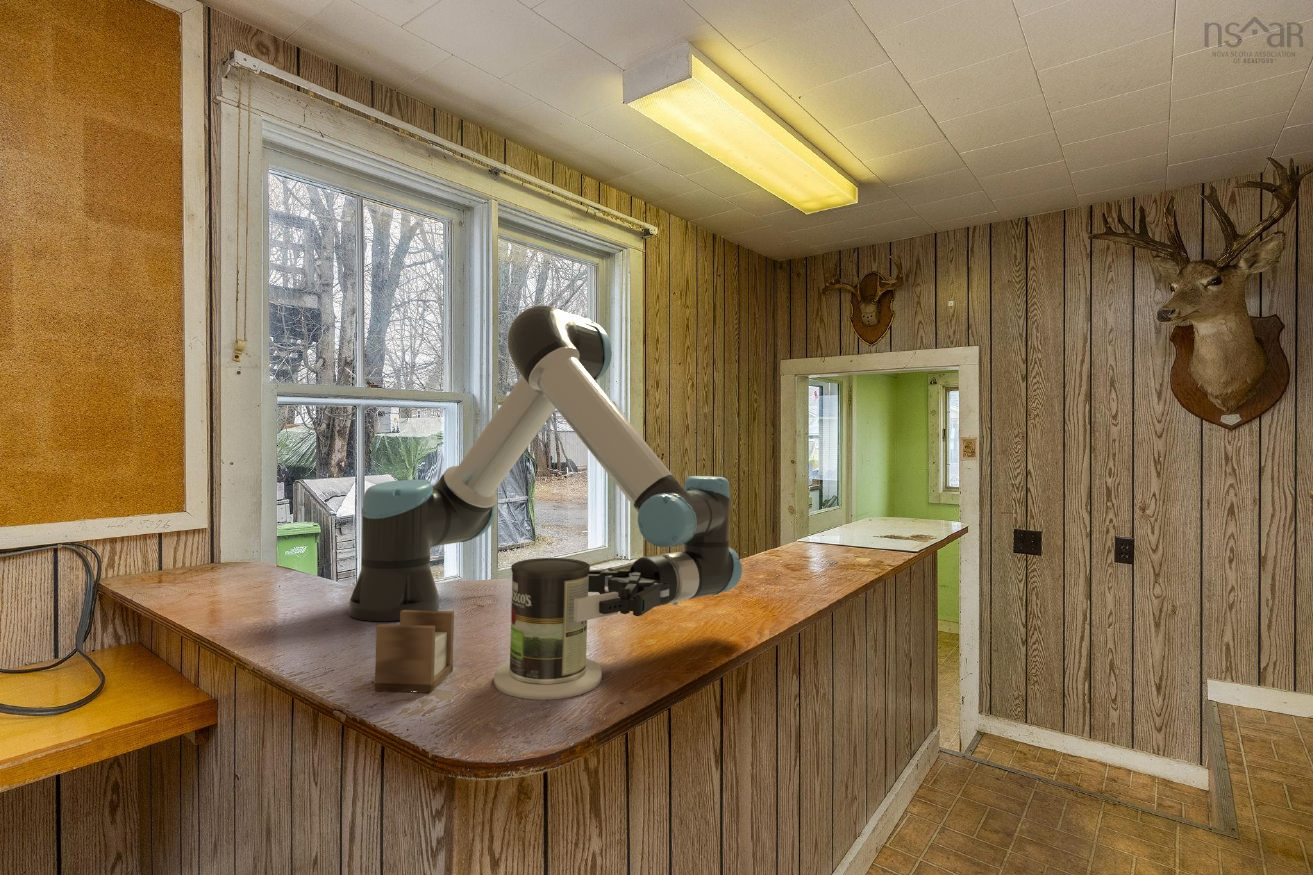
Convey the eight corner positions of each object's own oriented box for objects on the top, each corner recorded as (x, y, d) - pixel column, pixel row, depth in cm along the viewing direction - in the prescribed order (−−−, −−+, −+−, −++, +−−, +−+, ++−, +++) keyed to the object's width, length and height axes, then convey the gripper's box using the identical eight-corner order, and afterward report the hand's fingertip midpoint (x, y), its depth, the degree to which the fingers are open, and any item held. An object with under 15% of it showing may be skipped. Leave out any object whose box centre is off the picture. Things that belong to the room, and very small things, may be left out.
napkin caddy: (374, 690, 80) (376, 626, 80) (401, 668, 88) (403, 609, 88) (430, 692, 80) (432, 628, 80) (452, 670, 88) (454, 611, 88)
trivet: (480, 697, 79) (480, 689, 79) (509, 659, 93) (509, 652, 93) (594, 701, 79) (595, 693, 79) (606, 662, 93) (606, 655, 93)
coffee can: (522, 690, 79) (525, 575, 79) (499, 664, 88) (501, 560, 88) (600, 677, 84) (602, 568, 84) (570, 653, 93) (572, 555, 93)
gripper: (723, 621, 90) (603, 652, 76) (610, 589, 109) (496, 609, 94) (724, 567, 90) (605, 588, 76) (611, 544, 109) (498, 557, 94)
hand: (544, 599), depth 85 cm, fingers open, 13 cm apart
